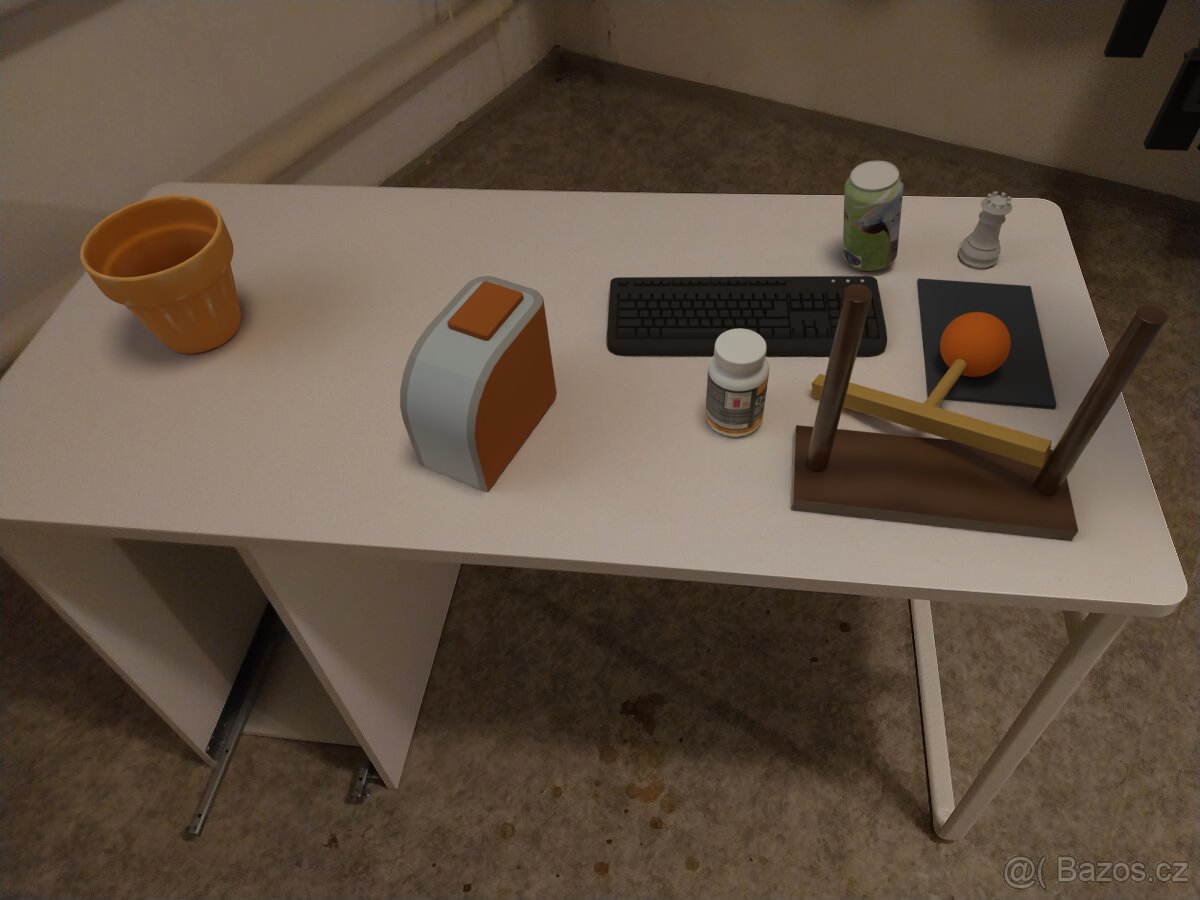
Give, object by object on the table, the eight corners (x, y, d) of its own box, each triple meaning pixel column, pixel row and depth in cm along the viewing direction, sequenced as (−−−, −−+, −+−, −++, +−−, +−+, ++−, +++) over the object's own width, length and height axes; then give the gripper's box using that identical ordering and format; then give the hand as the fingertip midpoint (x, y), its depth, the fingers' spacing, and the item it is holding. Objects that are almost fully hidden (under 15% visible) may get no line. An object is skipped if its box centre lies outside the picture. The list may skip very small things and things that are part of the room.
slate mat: (1055, 409, 82) (1057, 406, 81) (927, 398, 83) (929, 394, 83) (1029, 289, 93) (1030, 285, 92) (917, 281, 94) (918, 278, 94)
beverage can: (904, 268, 96) (931, 176, 87) (849, 286, 95) (870, 194, 85) (874, 237, 100) (896, 146, 90) (820, 254, 98) (837, 163, 89)
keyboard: (606, 356, 90) (605, 342, 88) (611, 289, 96) (610, 275, 95) (888, 356, 87) (892, 342, 86) (872, 288, 94) (876, 274, 93)
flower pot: (280, 286, 100) (238, 192, 90) (245, 371, 91) (194, 277, 81) (166, 288, 101) (112, 195, 91) (121, 373, 92) (54, 280, 82)
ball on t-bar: (1102, 378, 80) (1039, 486, 73) (885, 327, 93) (814, 413, 86) (1114, 325, 75) (1048, 433, 68) (885, 278, 88) (809, 365, 81)
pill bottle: (766, 438, 81) (777, 366, 74) (707, 440, 82) (712, 369, 74) (758, 395, 85) (768, 322, 77) (702, 397, 85) (706, 325, 77)
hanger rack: (1071, 540, 72) (1200, 361, 55) (791, 510, 76) (830, 332, 59) (1055, 460, 78) (1167, 274, 61) (794, 434, 81) (830, 252, 64)
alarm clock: (495, 364, 90) (473, 263, 79) (564, 388, 87) (551, 287, 76) (415, 462, 82) (379, 365, 71) (488, 492, 79) (462, 396, 68)
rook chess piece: (994, 246, 98) (1017, 186, 91) (1000, 270, 95) (1024, 211, 89) (954, 244, 98) (974, 185, 92) (959, 269, 95) (980, 209, 89)
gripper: (1181, -311, 55) (1060, 22, 71) (1321, -204, 39) (1125, 190, 56) (1308, -316, 53) (1155, 24, 70) (1503, -207, 38) (1249, 196, 54)
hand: (1142, 98), depth 63 cm, fingers open, 13 cm apart
